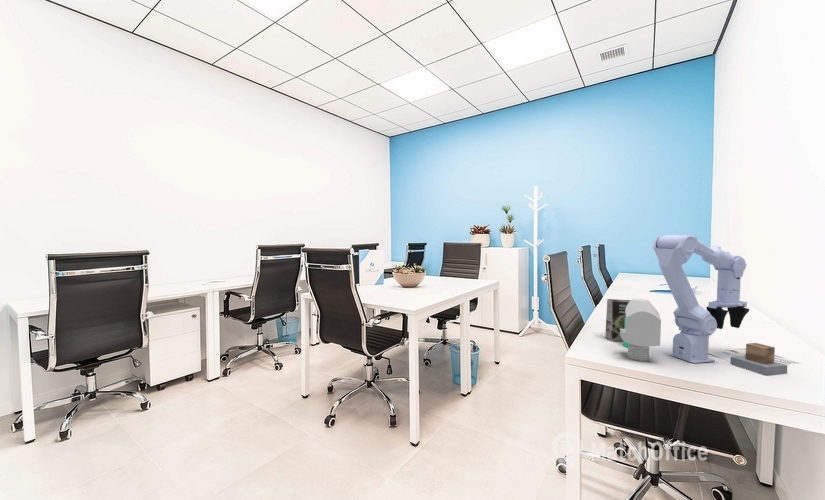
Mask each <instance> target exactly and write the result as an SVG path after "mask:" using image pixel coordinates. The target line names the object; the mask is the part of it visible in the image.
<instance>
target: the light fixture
mask: <svg viewBox="0 0 825 500" xmlns="http://www.w3.org/2000/svg"><path fill="white" fill-rule="evenodd" d="M630 300H631V301H630V302H629V303H628V305H627V307H626V309H625V315H626V329H620V336H621V338H622V340H623V341H624V342H627V343H629V344H628V347H627V358H630V359H631V360H635V361H638V362H640V361H641V362H647V361H649V358H650V347H659V346H661V332H662V331H661V330H662V318H661V315H660V313H659V311H658V310H657V309H656V307H655V306H654V305H653V304H652V303H651V301H649V300H648V299H643V298H631V299H630ZM624 342H623V343H624Z"/></svg>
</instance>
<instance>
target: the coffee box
mask: <svg viewBox="0 0 825 500" xmlns="http://www.w3.org/2000/svg"><path fill="white" fill-rule="evenodd" d="M631 300H632V299H618V298H617V299H615V298H613V299H612V298H607V299H606V315H605V316H606V317H605V318H606V319H605V334H604V336H605V338H607V339H608V340H609V341H610V342H617V343H618V342H619V343H624V341H623V340H622V338H621V336H620V329H624V324H625V318H626V315H625V309H626V307H627V305H628V303H629V302H630V301H631Z"/></svg>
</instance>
